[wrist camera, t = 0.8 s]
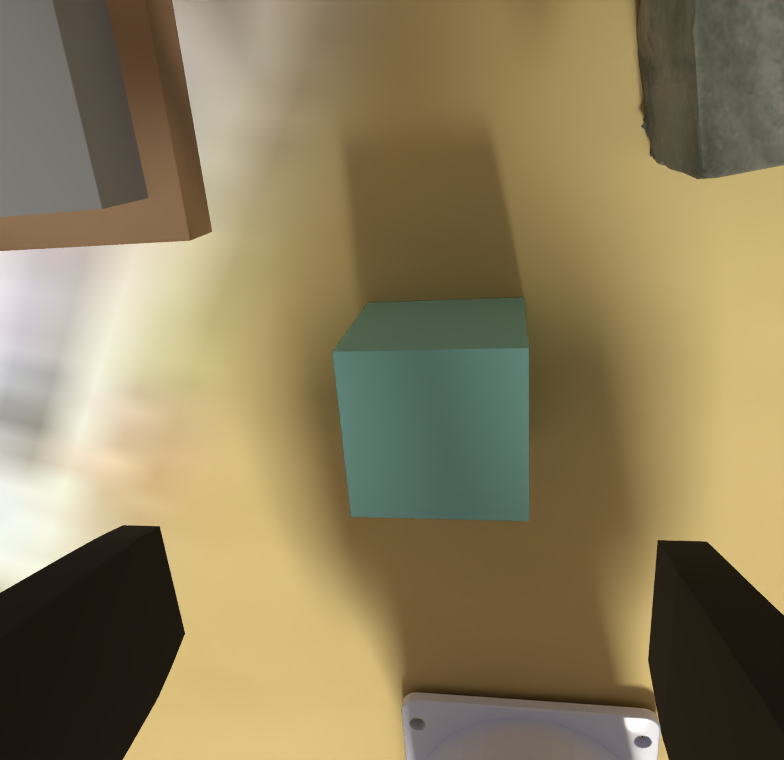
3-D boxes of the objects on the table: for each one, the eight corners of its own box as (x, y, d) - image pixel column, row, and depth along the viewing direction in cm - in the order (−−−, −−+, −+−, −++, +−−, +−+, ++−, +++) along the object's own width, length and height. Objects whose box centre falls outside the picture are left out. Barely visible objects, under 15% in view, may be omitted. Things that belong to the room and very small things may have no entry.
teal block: (524, 438, 18) (529, 521, 15) (381, 438, 19) (350, 517, 15) (524, 296, 17) (528, 348, 13) (368, 301, 18) (332, 352, 14)
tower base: (222, 227, 18) (190, 240, 16) (-35, 242, 20) (-92, 256, 18) (162, -129, 15) (115, -162, 13) (-134, -81, 17) (-214, -105, 15)
